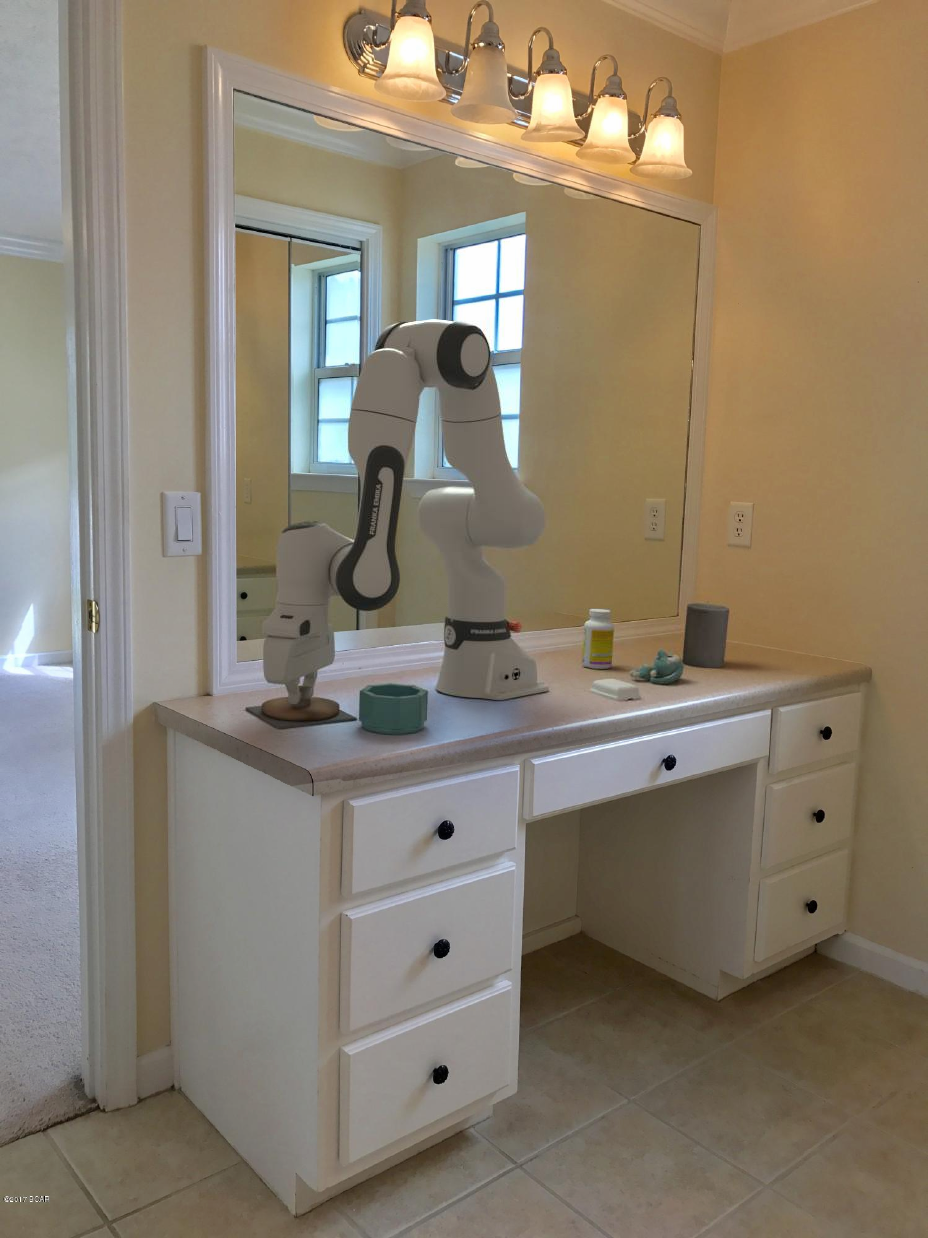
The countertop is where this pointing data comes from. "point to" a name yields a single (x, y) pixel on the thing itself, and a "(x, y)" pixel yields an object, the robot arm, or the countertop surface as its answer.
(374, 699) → the bowl
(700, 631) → the pillar candle
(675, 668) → the stuffed animal
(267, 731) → the countertop surface
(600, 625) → the supplement bottle
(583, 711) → the countertop surface
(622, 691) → the soap
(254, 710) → the mat
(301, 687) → the lid
